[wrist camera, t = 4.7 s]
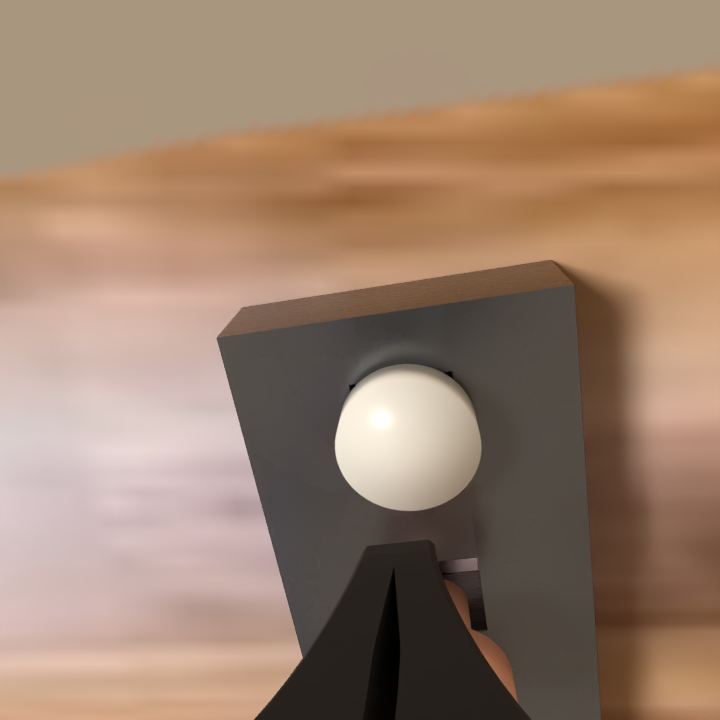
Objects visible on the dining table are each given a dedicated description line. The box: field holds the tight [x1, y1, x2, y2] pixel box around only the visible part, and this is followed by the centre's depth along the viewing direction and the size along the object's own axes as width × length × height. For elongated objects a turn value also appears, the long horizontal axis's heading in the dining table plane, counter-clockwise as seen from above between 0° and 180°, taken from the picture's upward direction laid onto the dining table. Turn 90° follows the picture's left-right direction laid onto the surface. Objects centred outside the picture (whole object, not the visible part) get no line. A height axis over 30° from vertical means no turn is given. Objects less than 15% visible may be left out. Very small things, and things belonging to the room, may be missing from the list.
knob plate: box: [217, 260, 601, 720], centre depth 23 cm, size 20×10×3 cm, turn 10°
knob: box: [335, 364, 481, 511], centre depth 20 cm, size 4×4×4 cm
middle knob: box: [444, 579, 518, 703], centre depth 19 cm, size 4×4×4 cm
